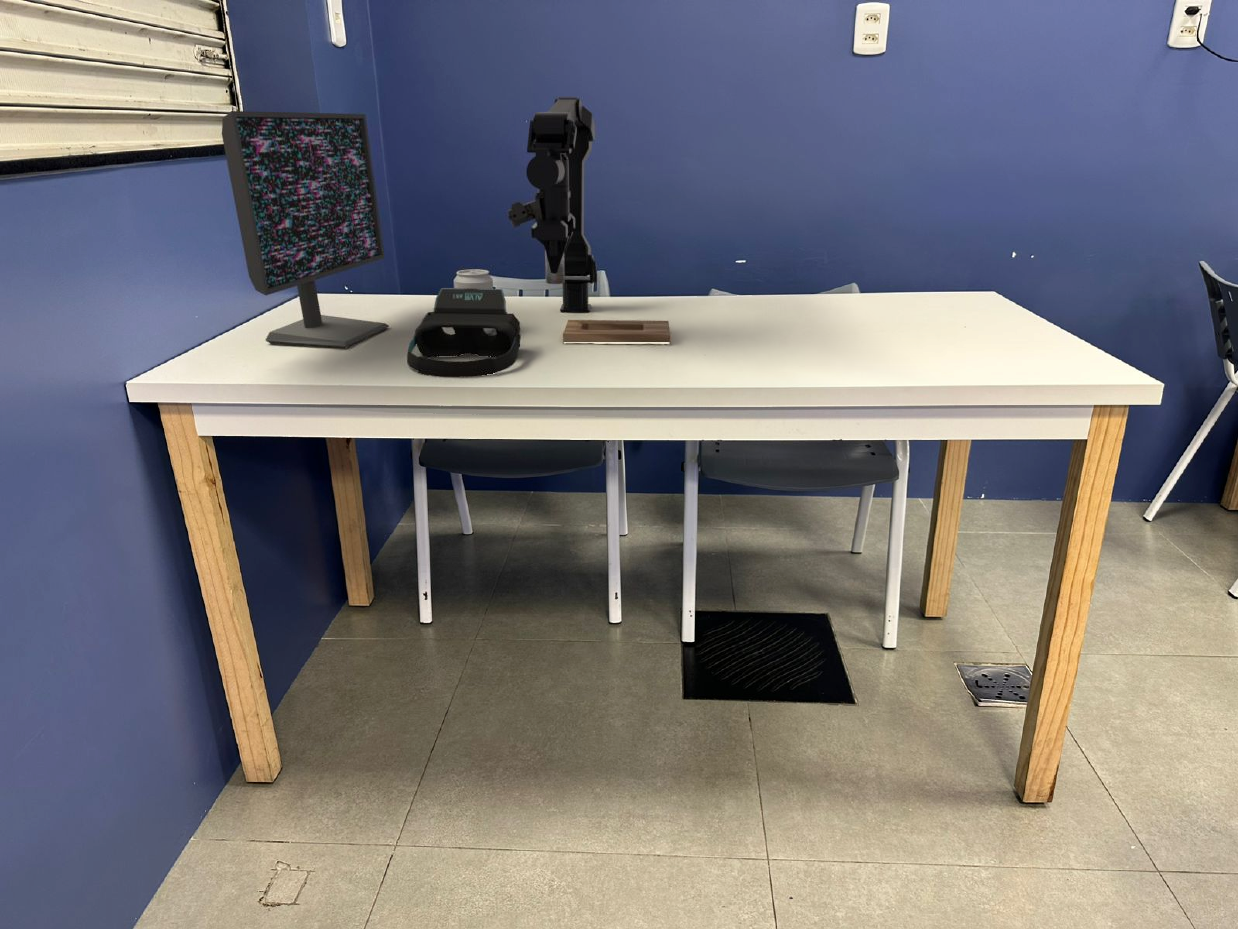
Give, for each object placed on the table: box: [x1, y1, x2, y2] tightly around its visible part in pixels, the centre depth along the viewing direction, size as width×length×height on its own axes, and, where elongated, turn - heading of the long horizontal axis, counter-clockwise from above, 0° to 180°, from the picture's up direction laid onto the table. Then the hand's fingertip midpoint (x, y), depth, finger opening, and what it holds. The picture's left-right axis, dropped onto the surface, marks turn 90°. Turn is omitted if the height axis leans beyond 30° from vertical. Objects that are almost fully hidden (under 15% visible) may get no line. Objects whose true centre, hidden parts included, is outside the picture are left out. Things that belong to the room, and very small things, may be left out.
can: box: [453, 268, 494, 335], centre depth 167 cm, size 8×8×12 cm
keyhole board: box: [562, 319, 671, 343], centre depth 166 cm, size 12×20×2 cm, turn 88°
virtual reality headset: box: [406, 287, 522, 378], centre depth 148 cm, size 19×22×10 cm
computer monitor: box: [221, 110, 390, 349], centre depth 158 cm, size 44×16×40 cm, turn 168°
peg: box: [544, 250, 565, 285], centre depth 163 cm, size 4×4×8 cm
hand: (555, 271), depth 164 cm, fingers closed on peg, 4 cm apart
